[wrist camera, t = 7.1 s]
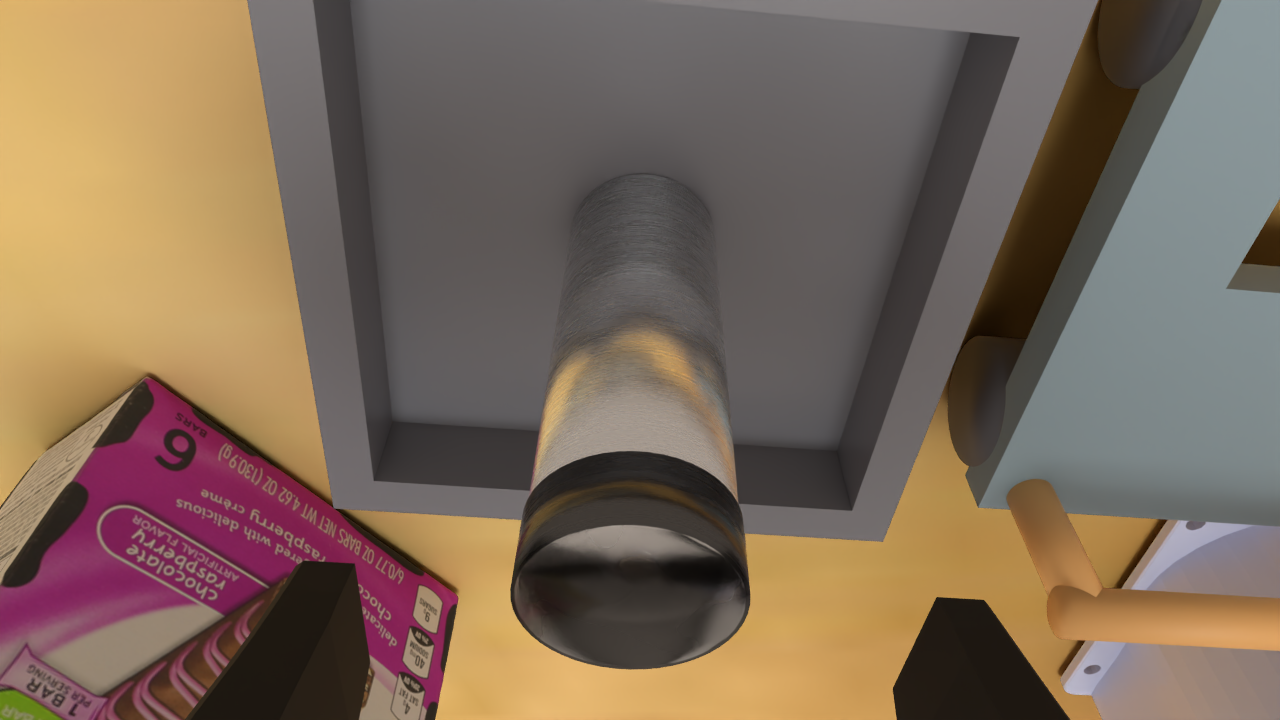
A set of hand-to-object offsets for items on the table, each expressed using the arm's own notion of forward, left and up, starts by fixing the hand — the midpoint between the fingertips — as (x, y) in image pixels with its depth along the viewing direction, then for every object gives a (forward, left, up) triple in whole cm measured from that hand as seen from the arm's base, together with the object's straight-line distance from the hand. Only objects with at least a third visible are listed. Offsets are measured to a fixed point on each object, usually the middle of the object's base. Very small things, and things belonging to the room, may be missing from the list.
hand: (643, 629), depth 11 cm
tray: (0, 0, -10) cm, 10 cm away
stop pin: (0, 0, -9) cm, 9 cm away
